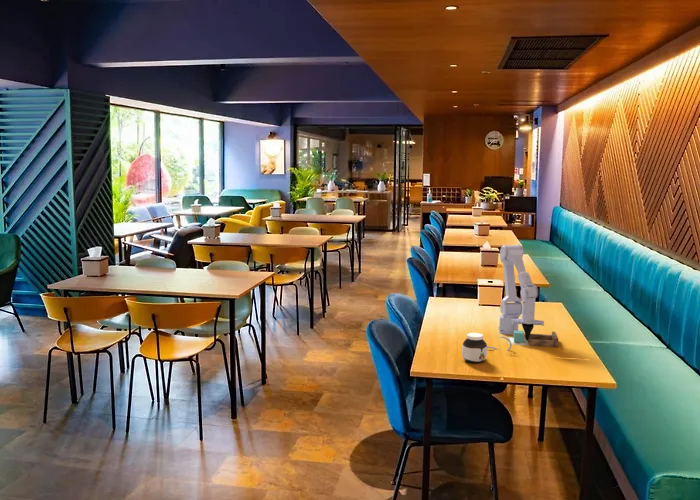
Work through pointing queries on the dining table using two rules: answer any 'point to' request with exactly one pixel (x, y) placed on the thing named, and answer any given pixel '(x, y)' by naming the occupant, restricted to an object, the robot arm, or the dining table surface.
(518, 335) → the teal block
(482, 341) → the spread jar
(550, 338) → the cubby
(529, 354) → the dining table surface
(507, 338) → the hook
